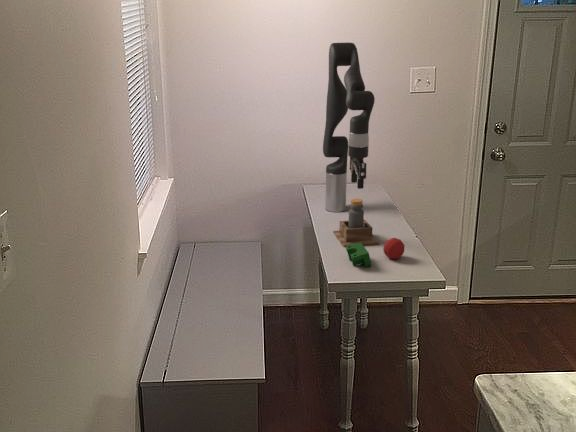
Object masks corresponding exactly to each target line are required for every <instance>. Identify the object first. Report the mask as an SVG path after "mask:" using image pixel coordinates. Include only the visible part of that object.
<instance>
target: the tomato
mask: <svg viewBox="0 0 576 432" xmlns="http://www.w3.org/2000/svg"><path fill="white" fill-rule="evenodd" d="M382 248H383V249H382V250H383V253H384V255H385V256H386V257H387V258H389V259H391V260H396V259H399V258H400V257H402V256H403V254H404V253H405V244H404V242H403V241H402V240H401V239H399V238H396V237H391V238H389V239H388V240H386V242H385V243H384V246H383V247H382Z"/></svg>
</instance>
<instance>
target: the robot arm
mask: <svg viewBox="0 0 576 432" xmlns="http://www.w3.org/2000/svg"><path fill="white" fill-rule="evenodd" d="M338 67H349V68H348V69H347V70H346V72H345V74H344V75H343V82H342V80H341V78H340V76H339V73H338ZM343 83H344V84H343ZM374 105H375V94H374V93H373V92H372V91H370V90H366V86H365V82H364V80H363V76H362V73H361V66H360V59H359V53H358V48H357V46H356V44H355V43H354V42H332V43H330V46H329V49H328V83H327V92H326V107H325V108H326V109H325V110H326V111H325V126H324V135H323V142H322V152H323V156H324V157H325V158H337V160H335V161H334V162H332V163H328V164H326V167H325V203H324V204H325V205H324V206H325V207H324V209H325V210H326V211H328V212H332V213H337V212H338V213H339V212H344V211H346V208H347V181H348V179H347V178H348V177H347V176H348V173H347V172H348V158H349V171H350V173H351V174H350V175H351V177H350V182H351V183H357V184H356V185H357V186H356V187H357V189H361V190H363V189H364V183H365V182H364V181H365V180H366V179H367V163H366V162H365V161H364V159H365V158H368V156H369V143H370V140H369V139H370V137H369V126H370V125H369V124H370V119H371V115H372V112H373V109H374ZM348 110H350V111H362V112H361V113H360V114H358V115H354V116H352V117H351V118H350V120H349V135H348V137H346V136H345V135H342V136H341V135H339V136H338V135H337V136H336V135H335V136H334V132H335V131H336V129H337V127H338V125H339V124H340V123H341V122H342V121H343V119H344V117H346V115H347V114H348Z"/></svg>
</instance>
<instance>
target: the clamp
mask: <svg viewBox="0 0 576 432" xmlns="http://www.w3.org/2000/svg"><path fill="white" fill-rule="evenodd" d="M345 250H346V252H347V256H348V260H349V261H350V262H351V263H352V266H353V267H355V266H359V265H364V267H365V268H368V267H371V266H372V261H371V257H370V256H371V255H370V252H369V251H368V249H366V246H363V245H362V243H361V242H358V243H355V244H352V245H348V246H346V247H345Z"/></svg>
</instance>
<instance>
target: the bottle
mask: <svg viewBox="0 0 576 432" xmlns="http://www.w3.org/2000/svg"><path fill="white" fill-rule="evenodd" d="M363 201H364V200H363V199H361V198H351V199H350V204H349V207H350V209H349V210H348V221H349V224H348V228H363V221H364V220H365V219H364V218H365V217H364V215H365V211H364V210H363V208H364V203H363Z"/></svg>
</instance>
